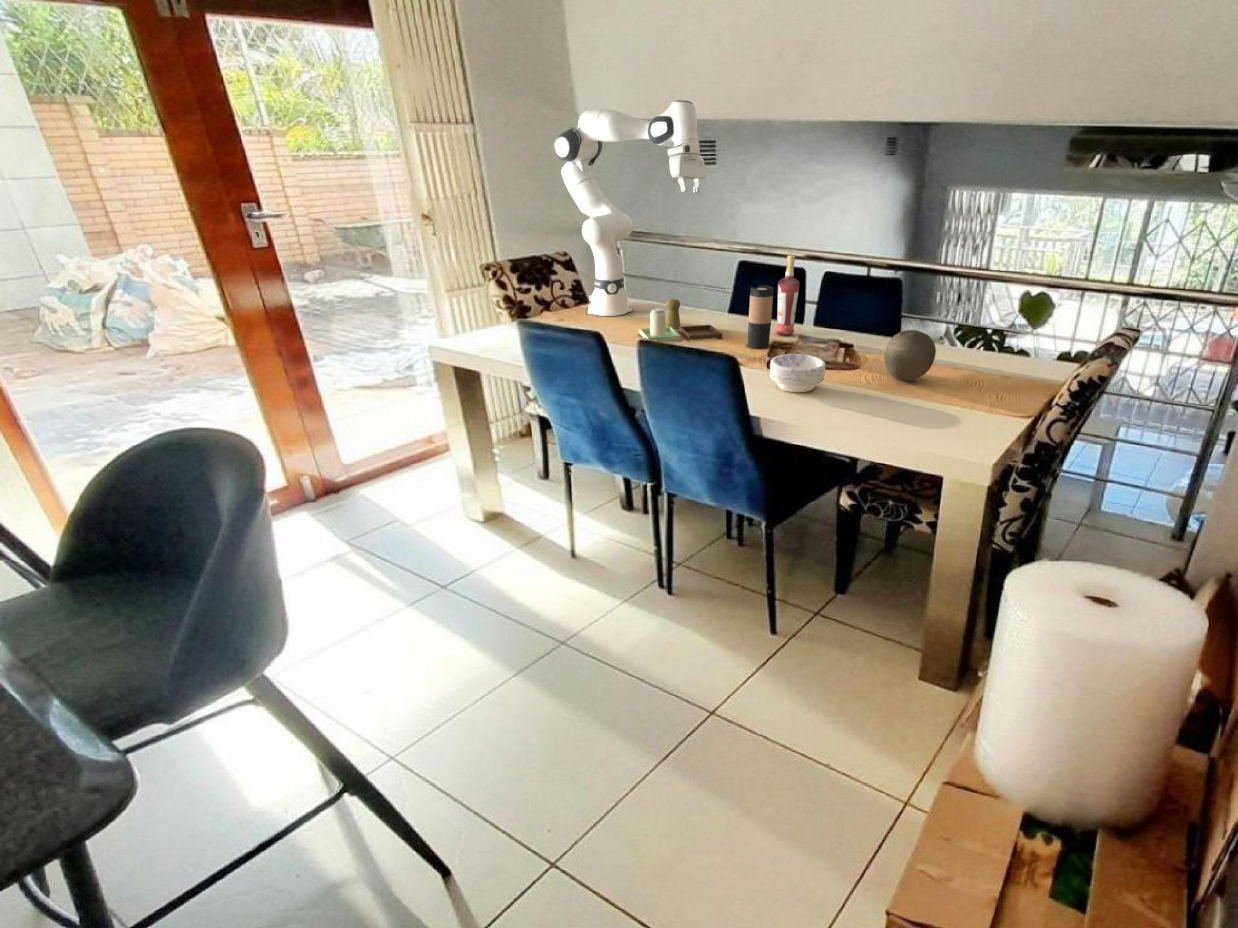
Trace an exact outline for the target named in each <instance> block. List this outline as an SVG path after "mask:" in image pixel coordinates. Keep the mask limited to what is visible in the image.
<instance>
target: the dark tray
mask: <svg viewBox="0 0 1238 928" xmlns="http://www.w3.org/2000/svg"><path fill="white" fill-rule="evenodd" d="M678 331H679V333H681V334H682V335H683V336H684V337H685V338H686V339H688V341H693V340H707V339H717V340H722V339H723V333H722V332H721V331H720V330H718V329H717V328H716V327H714V326H713V325H712V324H701V325H699V324H698V325H686V326H680V327H679V329H678Z"/></svg>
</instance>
